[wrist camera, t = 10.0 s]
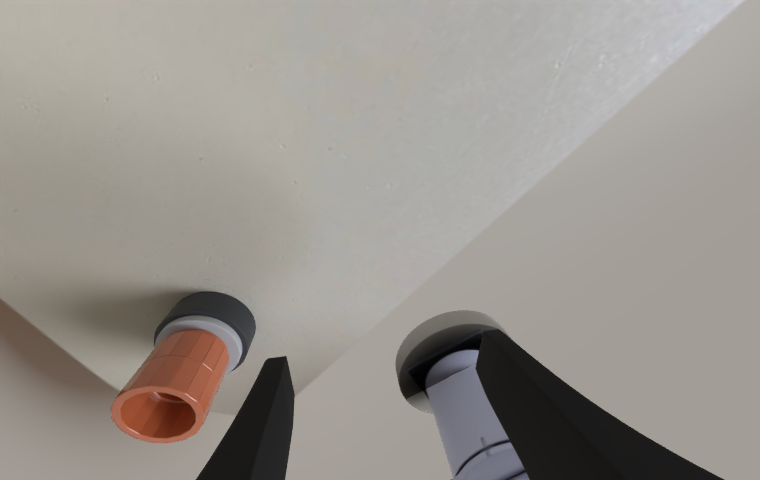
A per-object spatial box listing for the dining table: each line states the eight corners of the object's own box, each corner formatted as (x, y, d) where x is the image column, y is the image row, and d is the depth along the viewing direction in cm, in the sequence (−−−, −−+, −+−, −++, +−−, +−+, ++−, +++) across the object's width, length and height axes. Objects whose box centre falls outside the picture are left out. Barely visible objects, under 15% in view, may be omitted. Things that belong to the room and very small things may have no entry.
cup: (246, 355, 18) (221, 419, 15) (196, 384, 19) (159, 453, 15) (198, 313, 17) (156, 373, 13) (145, 346, 17) (89, 413, 13)
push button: (272, 331, 21) (263, 358, 19) (212, 365, 22) (197, 396, 19) (217, 277, 19) (200, 300, 17) (152, 317, 19) (127, 345, 17)
